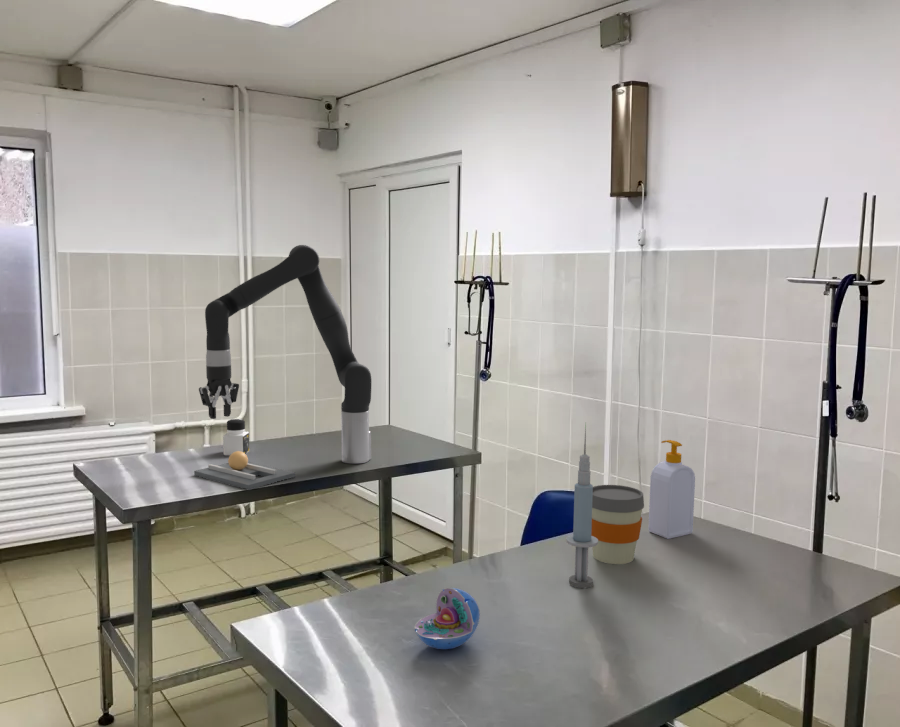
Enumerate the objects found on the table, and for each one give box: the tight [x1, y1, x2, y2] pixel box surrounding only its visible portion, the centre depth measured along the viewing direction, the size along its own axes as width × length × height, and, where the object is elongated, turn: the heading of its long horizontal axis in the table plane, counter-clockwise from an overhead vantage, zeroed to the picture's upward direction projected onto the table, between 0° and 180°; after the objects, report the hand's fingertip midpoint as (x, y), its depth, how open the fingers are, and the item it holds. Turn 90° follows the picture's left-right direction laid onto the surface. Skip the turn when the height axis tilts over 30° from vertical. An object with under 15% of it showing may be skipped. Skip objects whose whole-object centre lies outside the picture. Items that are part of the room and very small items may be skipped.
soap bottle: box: [648, 439, 696, 540], centre depth 187 cm, size 9×7×23 cm
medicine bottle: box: [222, 418, 250, 456], centre depth 266 cm, size 7×7×12 cm
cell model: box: [413, 587, 481, 650], centre depth 129 cm, size 10×12×10 cm
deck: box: [193, 461, 296, 491], centre depth 237 cm, size 18×26×3 cm
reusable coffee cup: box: [591, 484, 645, 565], centre depth 171 cm, size 13×13×15 cm
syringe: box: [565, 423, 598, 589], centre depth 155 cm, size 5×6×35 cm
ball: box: [227, 451, 249, 470], centre depth 238 cm, size 6×6×6 cm
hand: (220, 417), depth 241 cm, fingers open, 4 cm apart
